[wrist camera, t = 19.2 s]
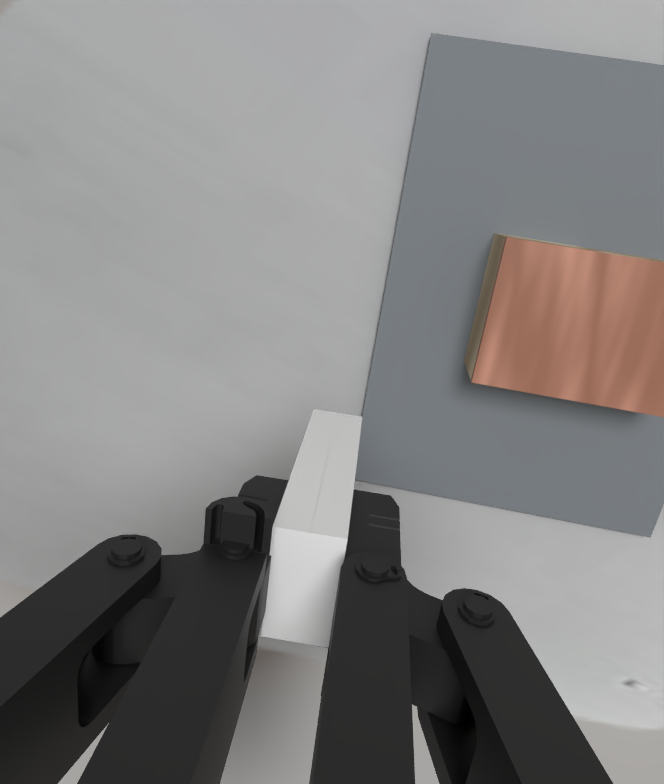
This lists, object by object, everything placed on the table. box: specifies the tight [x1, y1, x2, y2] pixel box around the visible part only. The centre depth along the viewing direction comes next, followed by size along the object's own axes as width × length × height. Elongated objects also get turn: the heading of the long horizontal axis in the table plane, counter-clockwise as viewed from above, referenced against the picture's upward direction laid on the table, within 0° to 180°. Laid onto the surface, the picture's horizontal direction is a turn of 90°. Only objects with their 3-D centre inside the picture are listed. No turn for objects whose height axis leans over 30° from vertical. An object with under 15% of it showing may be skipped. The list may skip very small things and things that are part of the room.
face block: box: [464, 233, 664, 417], centre depth 29 cm, size 4×7×10 cm
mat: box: [355, 33, 664, 537], centre depth 31 cm, size 18×24×1 cm
